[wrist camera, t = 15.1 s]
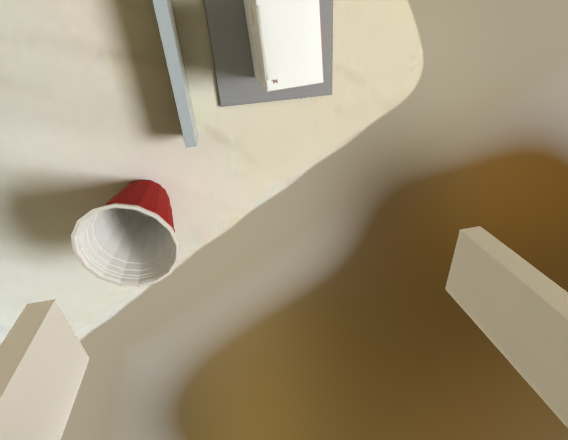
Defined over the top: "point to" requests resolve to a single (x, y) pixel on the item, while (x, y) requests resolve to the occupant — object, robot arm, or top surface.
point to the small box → (285, 42)
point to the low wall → (176, 70)
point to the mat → (238, 58)
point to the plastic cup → (129, 237)
